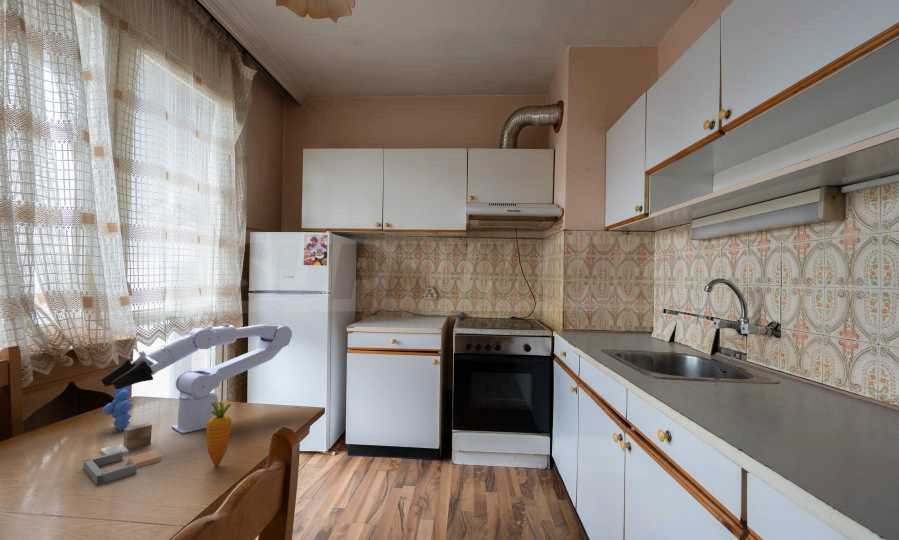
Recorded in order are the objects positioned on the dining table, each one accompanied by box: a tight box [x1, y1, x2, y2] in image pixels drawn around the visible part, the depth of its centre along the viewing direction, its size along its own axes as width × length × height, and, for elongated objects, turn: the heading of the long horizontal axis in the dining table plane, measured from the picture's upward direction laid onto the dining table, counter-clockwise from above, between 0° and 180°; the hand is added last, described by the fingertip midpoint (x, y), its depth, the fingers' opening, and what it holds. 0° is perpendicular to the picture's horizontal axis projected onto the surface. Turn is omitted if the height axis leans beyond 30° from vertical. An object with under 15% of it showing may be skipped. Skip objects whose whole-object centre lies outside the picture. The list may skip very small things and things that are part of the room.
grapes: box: [101, 386, 134, 431], centre depth 109 cm, size 12×7×12 cm, turn 46°
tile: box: [127, 449, 162, 468], centre depth 91 cm, size 5×5×2 cm
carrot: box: [205, 401, 232, 467], centre depth 90 cm, size 5×5×15 cm
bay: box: [82, 451, 137, 486], centre depth 86 cm, size 7×11×2 cm, turn 54°
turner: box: [100, 422, 153, 456], centre depth 97 cm, size 9×6×5 cm, turn 144°
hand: (108, 384), depth 96 cm, fingers open, 7 cm apart
